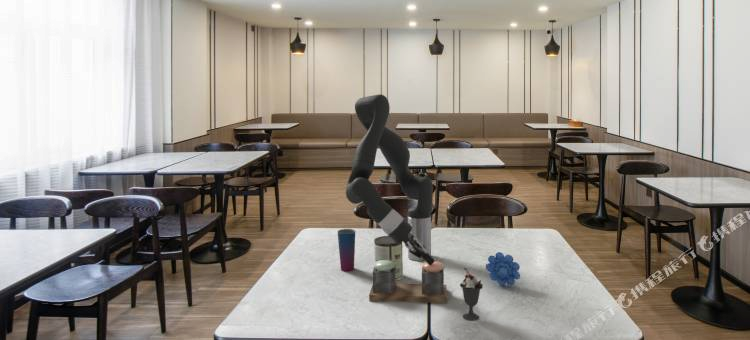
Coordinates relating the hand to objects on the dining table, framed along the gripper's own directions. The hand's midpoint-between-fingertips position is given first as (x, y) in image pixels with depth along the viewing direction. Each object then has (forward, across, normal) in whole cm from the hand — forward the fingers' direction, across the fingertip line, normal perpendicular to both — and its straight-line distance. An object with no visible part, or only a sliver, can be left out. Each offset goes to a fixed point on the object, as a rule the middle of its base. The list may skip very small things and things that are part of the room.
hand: (432, 262), depth 171 cm
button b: (+6, 0, +6) cm, 8 cm away
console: (+2, 0, +14) cm, 14 cm away
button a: (-6, 0, +17) cm, 18 cm away
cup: (-15, +24, +31) cm, 42 cm away
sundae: (+16, -15, 0) cm, 22 cm away
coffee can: (-3, +17, +20) cm, 26 cm away
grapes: (+25, +10, -9) cm, 28 cm away
